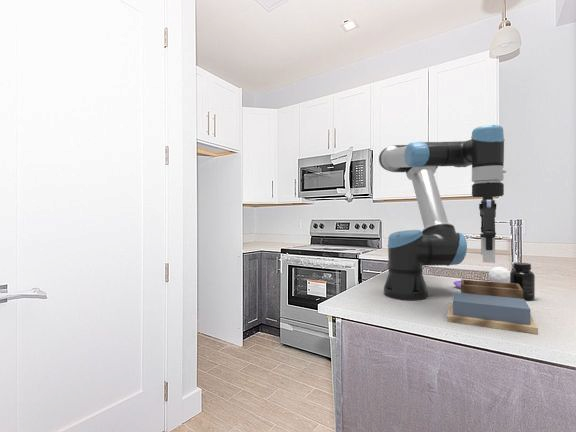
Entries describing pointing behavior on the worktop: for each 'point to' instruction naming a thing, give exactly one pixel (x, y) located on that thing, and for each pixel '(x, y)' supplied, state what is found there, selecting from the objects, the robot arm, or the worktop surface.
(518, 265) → the supplement bottle
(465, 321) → the oak cutting board
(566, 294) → the worktop surface
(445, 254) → the robot arm
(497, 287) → the walnut spice box
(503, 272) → the ball
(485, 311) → the slate lid
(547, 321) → the worktop surface
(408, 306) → the worktop surface
